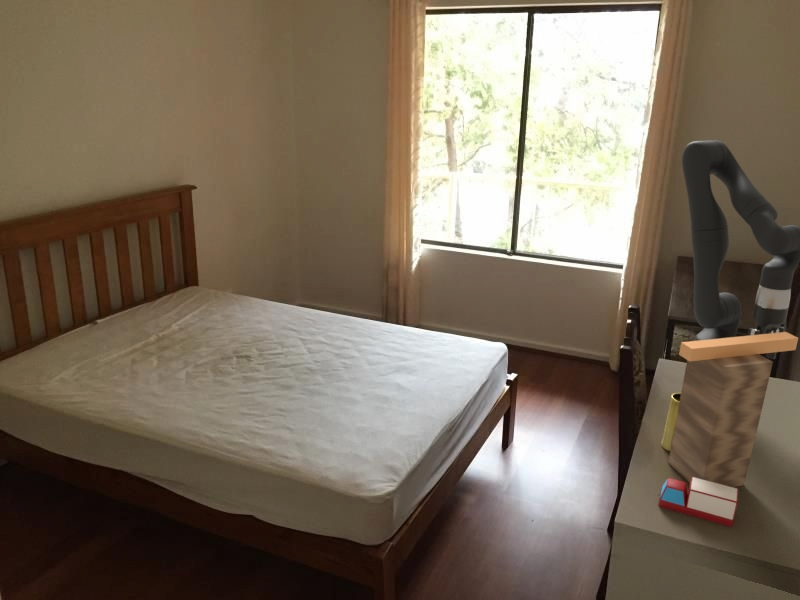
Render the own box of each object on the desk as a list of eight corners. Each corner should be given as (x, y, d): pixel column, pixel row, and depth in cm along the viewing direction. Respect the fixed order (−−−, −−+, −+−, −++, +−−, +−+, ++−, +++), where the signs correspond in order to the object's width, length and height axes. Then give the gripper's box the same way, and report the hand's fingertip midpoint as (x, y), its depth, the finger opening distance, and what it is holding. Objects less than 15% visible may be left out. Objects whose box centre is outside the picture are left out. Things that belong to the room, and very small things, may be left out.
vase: (685, 442, 172) (694, 394, 167) (686, 455, 167) (696, 405, 162) (660, 438, 174) (669, 390, 169) (661, 450, 169) (669, 401, 164)
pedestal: (709, 456, 166) (734, 340, 155) (744, 485, 155) (772, 361, 144) (668, 463, 163) (690, 344, 152) (700, 492, 152) (726, 367, 141)
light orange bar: (783, 343, 154) (786, 331, 153) (795, 350, 150) (798, 338, 149) (679, 354, 147) (681, 342, 146) (689, 361, 144) (691, 348, 143)
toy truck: (661, 493, 152) (665, 469, 150) (732, 513, 146) (738, 488, 143) (658, 507, 147) (662, 482, 145) (732, 528, 141) (737, 502, 139)
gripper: (772, 294, 175) (762, 351, 180) (742, 304, 168) (732, 362, 173) (801, 302, 169) (790, 360, 174) (771, 312, 162) (760, 372, 167)
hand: (761, 361), depth 173 cm, fingers open, 8 cm apart
